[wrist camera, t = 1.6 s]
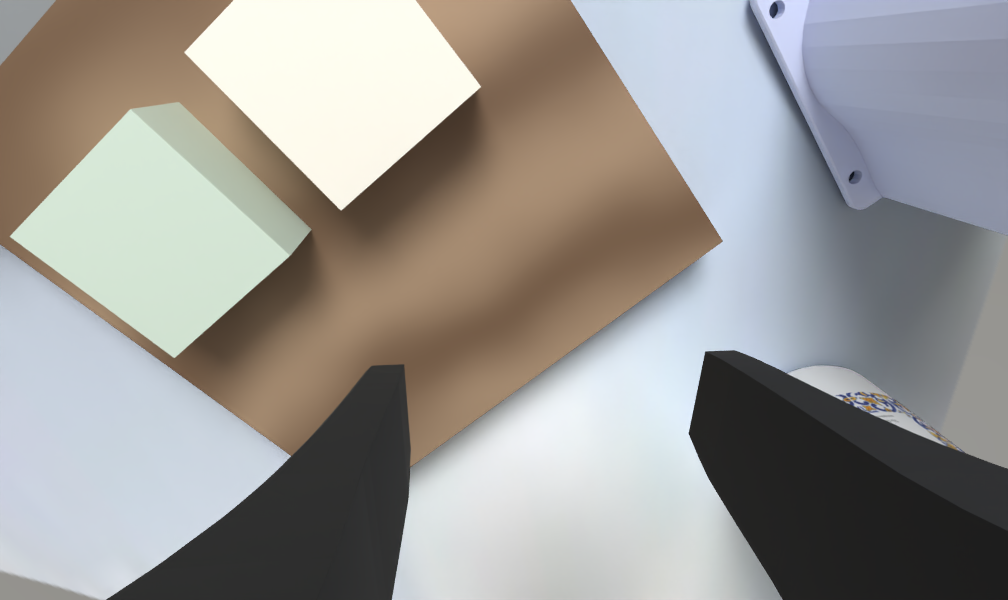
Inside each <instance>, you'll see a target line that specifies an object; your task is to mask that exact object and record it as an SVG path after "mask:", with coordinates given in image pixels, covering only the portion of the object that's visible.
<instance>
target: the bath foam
mask: <svg viewBox="0 0 1008 600" xmlns="http://www.w3.org/2000/svg"><path fill="white" fill-rule="evenodd" d="M787 374H789V375H791V376H793V377H795V378H797V379H799V380H801V381H803V382H805V383H807V384H809V385H811V386H813V387H815V388H817V389H819V390H822V391H824V392H826V393H828V394H830V395H832V396H834V397H836V398H838V399H840V400H842V401H844V402H846V403H848V404H851V405H853V406H855V407H857V408H859V409H861V410H863V411H866V412H868V413H870V414H872V415H874V416H877V417H879V418H881V419H883V420H886V421H888V422H890V423H892V424H895V425H897V426H899V427H901V428H904V429H906V430H908V431H911V432H913V433H915V434H918V435H920V436H922V437H925V438H927V439H930V440H932V441H935V442H937V443H940V444H942V445H945V446H947V447H950V448H953V449H955V450H958V451H961V452H963V451H962V450H961V449H959V448H958V447H957V446H956V445H954V444H953V443H952V442H950V441H949V440H948V439H946V438H945V437H944V436H942V435H941V434H940V433H938V432H937V431H936V430H934V429H933V428H932V427H930V426H929V425H928V424H926V423H925V422H924V421H923V420H921V419H920V418H919V417H917V416H916V415H915V414H913V413H912V412H911V411H909V410H908V409H907V408H905V407H904V406H903V405H901V404H900V403H899V402H897V401H896V400H894V399H893V398H891V397H890V396H889V395H887V394H886V393H885V392H883V391H882V390H881V389H880V388H878V387H877V386H876V385H874V384H873V383H872V382H870V381H869V380H868V379H866V378H865V377H863V376H862V375H860V374H859V373H857V372H855V371H853V370H850V369H847V368H844V367H839V366H827V365H817V366H809V367H804V368H800V369H797V370H794V371H791V372H789V373H787ZM963 453H965V452H963Z"/></svg>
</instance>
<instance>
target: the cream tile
mask: <svg viewBox="0 0 1008 600" xmlns="http://www.w3.org/2000/svg"><path fill="white" fill-rule="evenodd" d="M184 53H185V54H186V55H187V56H188V57H189V58H190V59H191V60H192V61H193V62H194V63H195V64H196V65H197V66H198V67H199V68H200V69H201V70H202V71H203V72H204V73H205V74H206V75H207V76H208V77H209V78H210V79H211V80H212V81H213V82H214V83H215V84H216V85H217V86H218V87H219V88H220V89H221V90H222V91H223V92H224V93H225V94H226V95H227V96H228V97H229V98H230V99H231V100H232V101H233V102H234V103H235V104H236V105H237V106H238V107H239V108H240V109H241V110H242V111H243V112H244V113H245V114H246V115H247V116H248V117H249V118H250V119H251V120H252V121H253V122H254V123H255V124H256V125H257V126H258V127H259V128H260V129H261V130H262V131H263V133H264V134H265V135H266V136H267V137H268V138H269V139H270V140H271V141H272V142H273V143H274V144H275V145H276V146H277V147H278V148H279V149H280V150H281V151H282V152H283V153H284V154H285V155H286V156H287V157H288V158H289V159H290V160H291V161H292V162H293V163H294V164H295V165H296V166H297V167H298V168H299V169H300V170H301V171H302V172H303V173H304V174H305V175H306V176H307V177H308V178H309V179H310V180H311V181H312V182H313V183H314V184H315V185H316V186H317V187H318V188H319V189H320V190H321V191H322V192H323V193H324V194H325V195H326V196H327V197H328V198H329V199H330V200H331V201H332V202H333V203H334V204H335V205H336V206H337V207H338V208H339V209H340V210H342V209H344V208H345V207H346V206H347V205H348V204H349V203H350V202H351V201H353V200H354V199H355V198H356V197H357V196H358V195H359V194H360V193H362V192H363V191H364V190H365V189H366V188H367V187H368V186H370V185H371V184H372V183H373V182H374V181H375V180H376V179H377V178H379V177H380V176H381V175H382V174H383V173H384V172H385V171H386V170H388V169H389V168H390V167H391V166H392V165H393V164H394V163H396V162H397V161H398V160H399V159H400V158H401V157H402V156H403V155H405V154H406V153H407V152H408V151H409V150H410V149H411V148H412V147H414V146H415V145H416V144H417V143H418V142H419V141H420V140H422V139H423V138H424V137H425V136H426V135H427V134H428V133H429V132H431V131H432V130H433V129H434V128H435V127H436V126H437V125H438V124H440V123H441V122H442V121H443V120H444V119H445V118H446V117H448V116H449V115H450V114H451V113H452V112H453V111H454V110H455V109H457V108H458V107H459V106H460V105H461V104H462V103H463V102H464V101H466V100H467V99H468V98H469V97H470V96H471V95H472V94H474V93H475V92H476V91H477V90H478V89H479V88H480V87H481V86H480V84H479V83H478V82H477V81H476V79H475V78H474V77H473V75H472V74H471V73H470V71H469V70H468V69H467V67H466V66H465V65H464V63H463V62H462V61H461V59H460V58H459V57H458V56H457V54H456V53H455V52H454V50H453V49H452V48H451V46H450V45H449V44H448V42H447V41H446V40H445V38H444V37H443V36H442V34H441V33H440V32H439V30H438V29H437V28H436V27H435V25H434V24H433V23H432V21H431V20H430V19H429V17H428V16H427V15H426V13H425V12H424V11H423V9H422V8H421V7H420V5H419V4H418V3H417V2H416V0H233V1H232V2H231V4H230V5H229V6H228V7H227V8H226V9H225V10H224V11H223V12H222V13H221V14H220V15H219V16H218V17H217V18H216V19H215V20H214V21H213V23H212V24H211V25H210V26H209V27H208V28H207V29H206V30H205V31H204V32H203V33H202V34H201V35H200V36H199V37H198V38H197V39H196V40H195V42H194V43H193V44H192V45H191V46H190V47H189V48H188V49H187V50H186V51H185V52H184Z"/></svg>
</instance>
